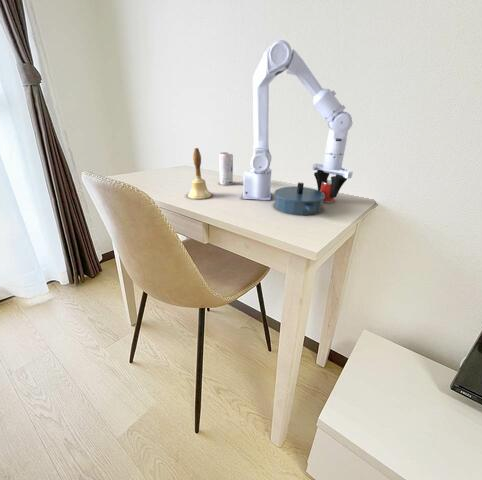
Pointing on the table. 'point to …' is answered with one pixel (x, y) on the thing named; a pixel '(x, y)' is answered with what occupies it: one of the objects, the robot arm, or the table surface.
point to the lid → (300, 194)
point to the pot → (298, 207)
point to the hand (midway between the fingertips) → (327, 195)
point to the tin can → (327, 190)
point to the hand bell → (198, 180)
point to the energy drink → (226, 168)
